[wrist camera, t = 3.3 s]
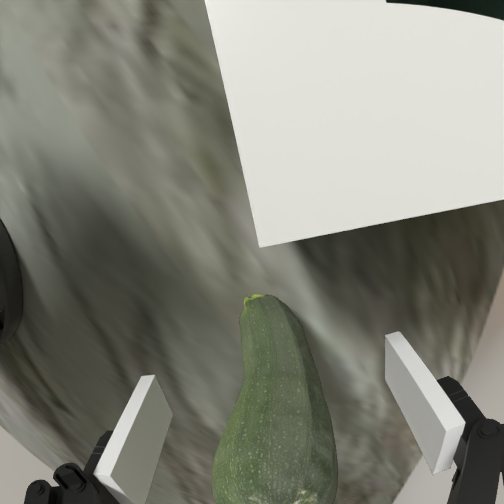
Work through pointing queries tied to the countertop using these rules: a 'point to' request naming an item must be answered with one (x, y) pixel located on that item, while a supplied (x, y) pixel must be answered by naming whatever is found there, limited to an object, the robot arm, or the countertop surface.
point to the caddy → (362, 108)
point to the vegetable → (276, 418)
